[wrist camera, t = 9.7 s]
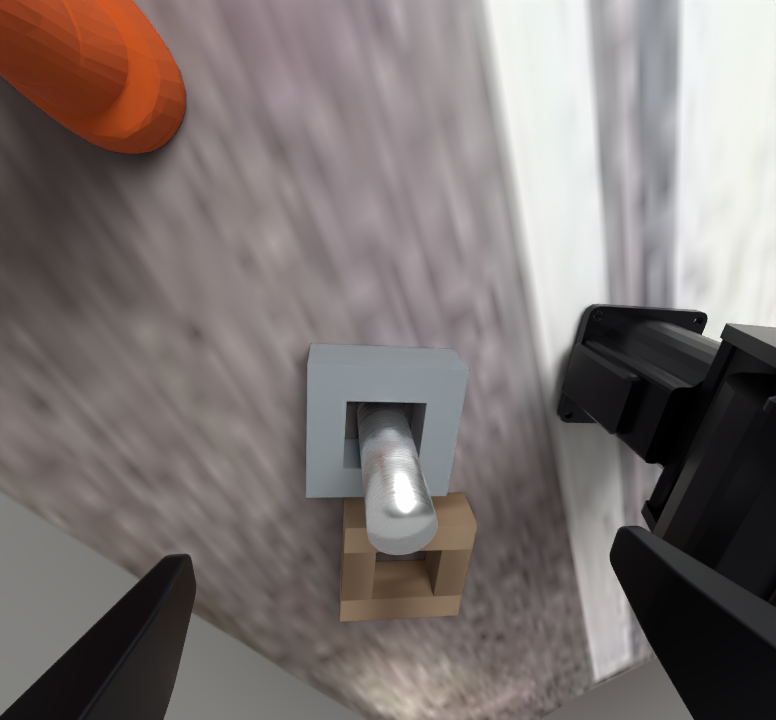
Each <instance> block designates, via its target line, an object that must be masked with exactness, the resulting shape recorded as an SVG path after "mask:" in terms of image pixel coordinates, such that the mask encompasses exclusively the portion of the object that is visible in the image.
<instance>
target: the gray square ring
mask: <svg viewBox="0 0 776 720" xmlns="http://www.w3.org/2000/svg"><path fill="white" fill-rule="evenodd" d="M468 375H469V368H468V367H467V366H466V364H465V363H464V362H463V360H462V359H461V358H460V356H459V355H458V354H457V352H456V351H455V350H454V349H437V348H413V347H389V346H365V345H341V344H317V343H311V347H310V353H309V358H308V364H307V443H306V498H321V497H364V491H363V479H362V467H361V456H360V444H359V439H345V421H346V403H347V401H361V402H407V403H414V405H413V413H412V421H411V429H410V431H411V434H412V438H413V441H414V444H415V448H416V451H417V454H418V457H419V461H420V464H421V467H422V471H423V474H424V477H425V480H426V484H427V487H428V490H429V494H430V496H447V491H448V486H449V480H450V475H451V469H452V464H453V458H454V453H455V447H456V441H457V436H458V430H459V425H460V419H461V414H462V408H463V403H464V397H465V391H466V386H467V380H468Z"/></svg>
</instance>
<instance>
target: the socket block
mask: <svg viewBox="0 0 776 720" xmlns="http://www.w3.org/2000/svg"><path fill="white" fill-rule="evenodd" d="M430 497H431V500H432V503H433V507H434V510H435V513H436V516H437V520H438V528H437V532H436V534H435V536H434V538H433V539H432V540H431V542H430V543H429V544H427V545H426V546H425V547H423V548H422V549H420V550H418V551H426V556H425V560H409V561H381V562H375V560H376V552H381V551H379V550H378V549H376V548H375V547H374V546H373V545H372V544H371V543H370V541H369V539H368V535H367V525H366V514H365V502H364V497H345V498H344V515H343V532H342V549H341V566H340V622H342V621H360V620H378V619H396V618H414V617H432V616H450V615H458V611H459V606H460V602H461V598H462V593H463V589H464V584H465V580H466V575H467V571H468V566H469V562H470V558H471V553H472V549H473V544H474V540H475V535H476V531H477V526H478V525H477V522H476V520H475V518H474V515H473V513H472V511H471V508H470V506H469V503H468V501H467V499H466V496H465V494H464V493H447V496H430Z"/></svg>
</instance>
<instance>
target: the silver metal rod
mask: <svg viewBox="0 0 776 720" xmlns="http://www.w3.org/2000/svg"><path fill="white" fill-rule="evenodd" d="M357 421H358V433H359V444H360V456H361V467H362V479H363V491H364V502H365V514H366V525H367V535H368V539H369V541H370V543H371V544H372V545H373V546H374V547H375V548H376V549H378V550H379V551H381V552H383V553H386V554H390V555H405V554H410V553H413V552H416V551H418V550H420V549H422V548H423V547H425V546H426V545H427V544H429V543H430V542H431V540H432V539H433V538H434V536H435V534H436V532H437V528H438V520H437V516H436V513H435V510H434V507H433V503H432V500H431V497H430V494H429V490H428V487H427V484H426V480H425V477H424V474H423V471H422V467H421V464H420V461H419V457H418V454H417V451H416V448H415V444H414V441H413V438H412V434H411V431H410V428H409V425H408V421H407V418H406V415H405V411H404V408H403V405H402V402H361V401H359V402H358V405H357Z"/></svg>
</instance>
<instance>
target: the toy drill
mask: <svg viewBox="0 0 776 720" xmlns="http://www.w3.org/2000/svg"><path fill="white" fill-rule="evenodd" d="M0 76H1V77H3V78H4V79H5V80H6V81H7V82H8V83H10V84H11V85H12V86H13V87H14V88H15V89H17V90H18V91H19V92H20V93H21V94H23V95H24V96H25V97H26V98H28V99H29V100H30V101H31V102H33V103H34V104H35V105H36V106H37V107H39V108H40V109H41V110H42V111H44V112H45V113H46V114H48V115H49V116H51V117H52V118H53V119H55V120H56V121H57V122H59V123H60V124H61V125H63V126H64V127H66V128H67V129H69V130H70V131H72V132H74V133H75V134H77V135H78V136H80V137H82V138H83V139H85V140H87V141H88V142H90V143H92V144H95V145H97V146H100V147H102V148H104V149H107V150H109V151H114V152H121V153H130V154H136V153H145V152H150V151H154V150H156V149H158V148H159V147H161V146H163V145H165V144H166V143H167V142H168V141H169V140H170V139H171V138H172V137H173V136H174V134H175V133H176V131H177V129H178V128H179V126H180V124H181V123H182V119H183V116H184V112H185V109H186V90H185V87H184V83H183V80H182V76H181V72H180V70H179V68H178V66H177V64H176V62H175V60H174V59H173V57H172V55H171V53H170V51H169V49H168V47H167V46H166V45H165V43H164V42H163V40H162V39H161V37H160V36H159V34H158V33H157V32H156V30H155V29H154V27H153V26H152V24H151V23H150V22H149V21H148V19H147V18H146V16H145V15H144V14H143V13H142V12H141V10H140V9H139V8H138V7H137V6H136V5H135V3H134V2H133V1H132V0H0Z"/></svg>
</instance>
